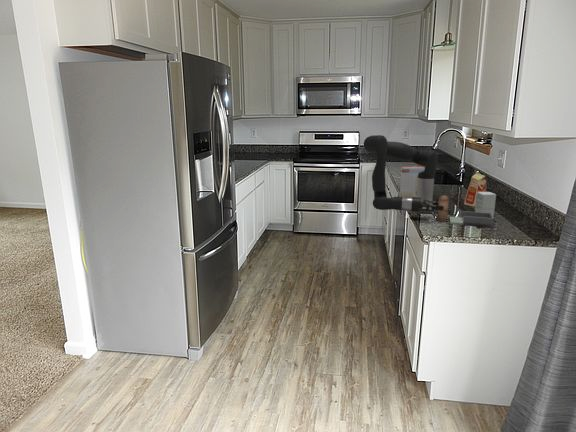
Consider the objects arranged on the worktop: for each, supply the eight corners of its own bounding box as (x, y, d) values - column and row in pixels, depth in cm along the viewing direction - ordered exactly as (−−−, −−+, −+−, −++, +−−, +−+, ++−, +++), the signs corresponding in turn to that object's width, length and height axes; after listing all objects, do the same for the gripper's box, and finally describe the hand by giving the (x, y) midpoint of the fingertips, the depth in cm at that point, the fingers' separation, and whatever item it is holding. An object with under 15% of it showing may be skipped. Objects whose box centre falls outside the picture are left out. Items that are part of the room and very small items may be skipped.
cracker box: (420, 198, 271) (423, 166, 266) (422, 200, 265) (425, 167, 260) (398, 197, 272) (400, 166, 267) (400, 199, 267) (402, 167, 261)
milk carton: (464, 203, 255) (467, 171, 250) (475, 202, 258) (479, 170, 253) (475, 207, 247) (479, 173, 242) (487, 205, 250) (491, 173, 245)
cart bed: (449, 218, 221) (450, 210, 220) (490, 221, 215) (491, 213, 213) (450, 224, 210) (451, 215, 209) (493, 227, 204) (494, 218, 202)
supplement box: (486, 213, 231) (489, 191, 228) (493, 217, 224) (496, 194, 220) (474, 213, 231) (476, 191, 227) (480, 217, 223) (483, 194, 220)
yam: (436, 218, 220) (439, 194, 216) (446, 219, 218) (449, 194, 215) (436, 221, 215) (439, 195, 212) (447, 222, 214) (449, 196, 210)
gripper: (410, 200, 212) (444, 202, 207) (412, 194, 225) (443, 196, 220) (409, 214, 214) (443, 216, 209) (411, 208, 227) (442, 210, 222)
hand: (443, 206), depth 215 cm, fingers open, 8 cm apart
